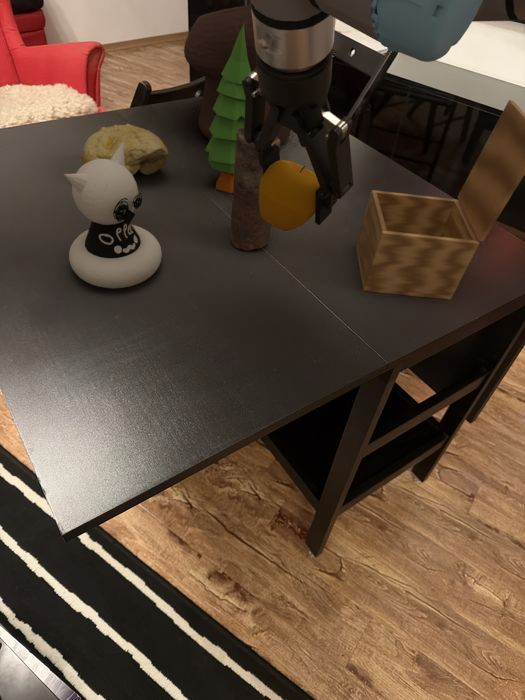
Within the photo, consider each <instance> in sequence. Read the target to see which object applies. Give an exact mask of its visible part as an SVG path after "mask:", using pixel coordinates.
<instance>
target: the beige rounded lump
mask: <svg viewBox="0 0 525 700" xmlns="http://www.w3.org/2000/svg"><path fill="white" fill-rule="evenodd" d="M123 141H124V157H125V168H127V170H128V171H129V172H130V173H131V174H132V176H135V175H136V173H137V172H138V171H139V172H140V173H142V174H143V175H145V176H148V175H149V176H150V175H152V174H154V173H156V172H157V171H159V170H160V169H162V167H163V166H164V165H165V164H166V161H167V156H168V155H169V151H168V148H167V147H166V145H165V144H164V142H163V140H162V139H161V138H160V137H159V136H158V135H156V134H154V132H151V130H148V129H145V128H144V127H139V126H135V125H133V124H130V123H128V122H127V123H126V124H124V125H123V124H114V125H112V126H107V127H105V126H101V128H100V129H99V130H98V131H95V132H94V133H93V134H91V135H90V136H89V137H88V138H87V140H86V141H85V143H84V146H83V150H82V162H83V165H84V164H86V163H87V162H89V161H92V160H96V159H109V160H111V158H112V157H113V155H114V154H115V152H116V151H117V149H118V148H119V146H120V145H121V143H122V142H123Z"/></svg>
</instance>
